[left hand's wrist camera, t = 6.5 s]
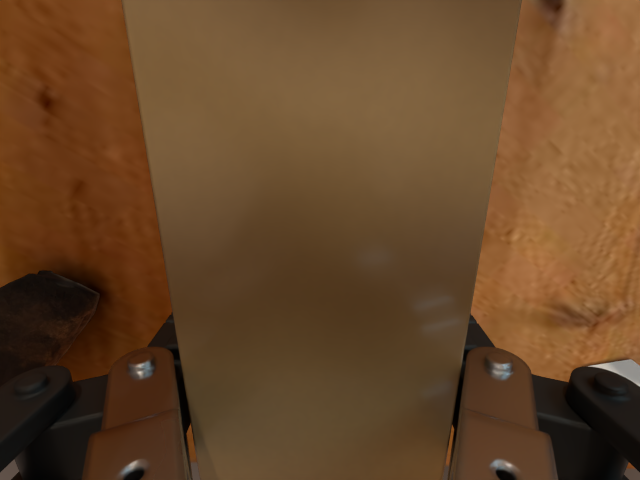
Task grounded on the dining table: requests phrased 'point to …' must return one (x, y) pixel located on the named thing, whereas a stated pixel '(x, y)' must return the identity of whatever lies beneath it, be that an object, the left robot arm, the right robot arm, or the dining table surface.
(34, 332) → the decorative rock
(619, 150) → the dining table surface
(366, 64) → the box
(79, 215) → the dining table surface
